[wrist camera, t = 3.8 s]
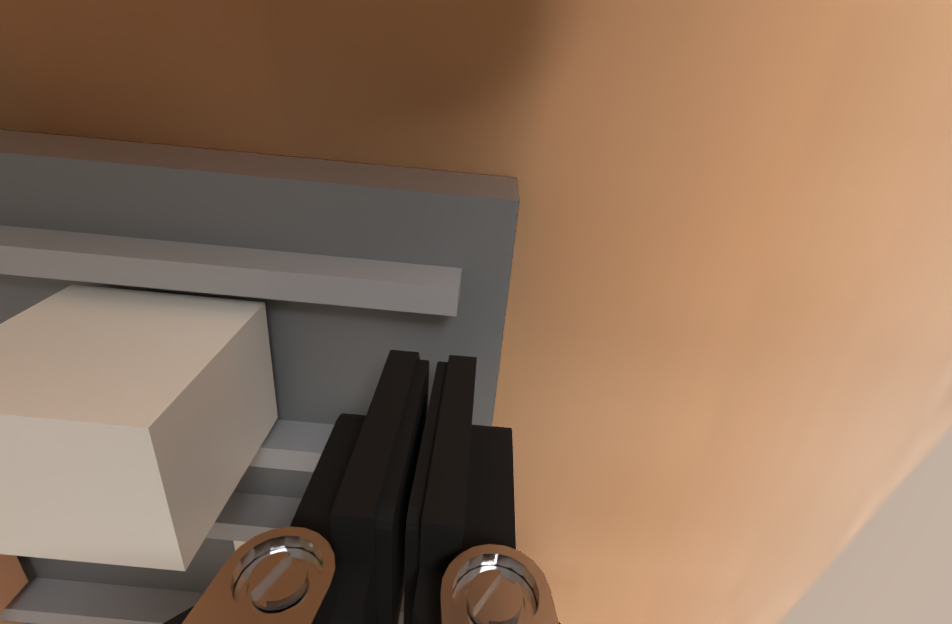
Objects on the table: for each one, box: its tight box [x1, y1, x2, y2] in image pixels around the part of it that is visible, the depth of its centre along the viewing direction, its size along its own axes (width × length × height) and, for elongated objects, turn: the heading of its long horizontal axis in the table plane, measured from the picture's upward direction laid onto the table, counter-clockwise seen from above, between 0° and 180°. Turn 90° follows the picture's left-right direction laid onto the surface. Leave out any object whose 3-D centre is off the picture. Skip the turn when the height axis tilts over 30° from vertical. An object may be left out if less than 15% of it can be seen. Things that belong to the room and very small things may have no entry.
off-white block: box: [0, 284, 278, 571], centre depth 10 cm, size 3×4×4 cm
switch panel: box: [0, 129, 519, 624], centre depth 14 cm, size 15×22×3 cm
